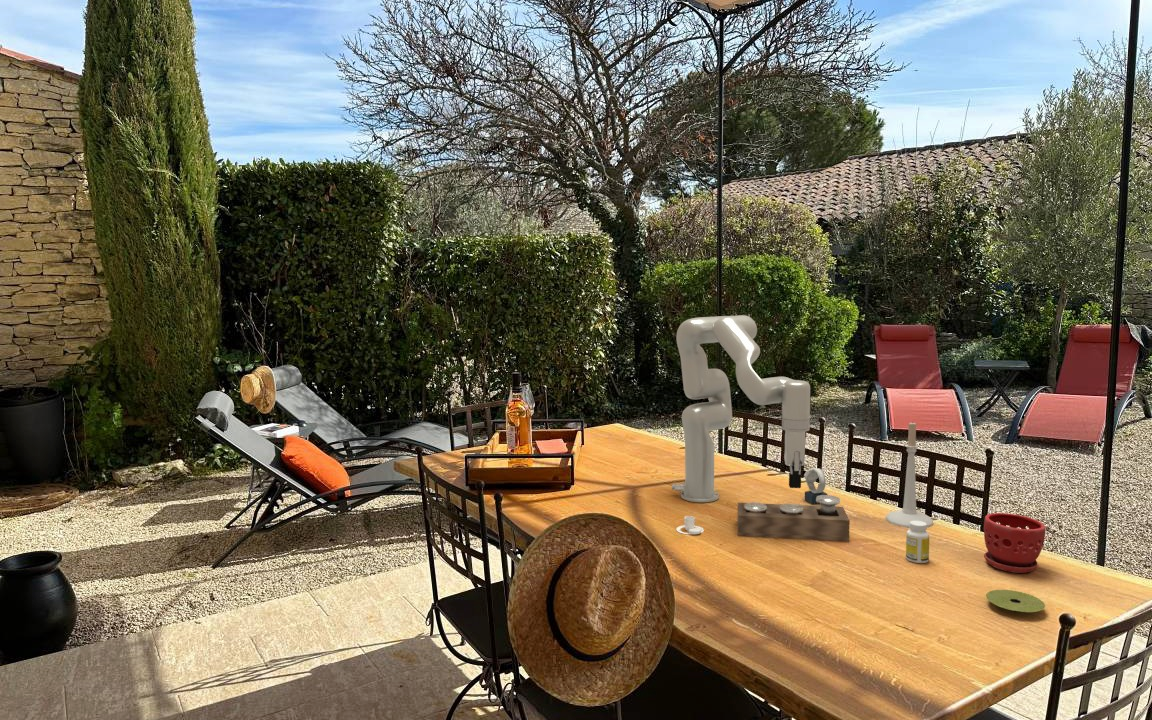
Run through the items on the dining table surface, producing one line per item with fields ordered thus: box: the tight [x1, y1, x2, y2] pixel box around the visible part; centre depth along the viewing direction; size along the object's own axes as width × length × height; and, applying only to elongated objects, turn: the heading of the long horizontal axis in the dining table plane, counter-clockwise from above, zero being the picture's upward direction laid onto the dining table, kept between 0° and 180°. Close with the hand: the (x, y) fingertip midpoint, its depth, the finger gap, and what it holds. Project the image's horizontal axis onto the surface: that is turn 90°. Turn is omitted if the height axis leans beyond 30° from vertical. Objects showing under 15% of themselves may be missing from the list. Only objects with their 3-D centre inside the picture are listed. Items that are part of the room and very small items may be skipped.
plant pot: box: [983, 512, 1046, 574], centre depth 186 cm, size 13×13×12 cm
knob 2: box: [816, 494, 841, 516], centre depth 211 cm, size 6×6×5 cm
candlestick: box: [885, 421, 934, 529], centre depth 219 cm, size 13×13×30 cm
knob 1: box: [744, 502, 767, 513], centre depth 216 cm, size 6×6×5 cm
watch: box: [803, 467, 828, 506], centre depth 240 cm, size 6×8×11 cm
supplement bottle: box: [905, 521, 930, 564], centre depth 191 cm, size 5×5×10 cm
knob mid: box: [780, 503, 803, 514], centre depth 214 cm, size 6×6×5 cm
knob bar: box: [736, 502, 851, 542], centre depth 214 cm, size 30×12×6 cm, turn 79°
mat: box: [985, 589, 1046, 613], centre depth 164 cm, size 11×11×2 cm
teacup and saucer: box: [675, 515, 704, 536], centre depth 217 cm, size 9×8×4 cm
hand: (794, 487), depth 212 cm, fingers closed
